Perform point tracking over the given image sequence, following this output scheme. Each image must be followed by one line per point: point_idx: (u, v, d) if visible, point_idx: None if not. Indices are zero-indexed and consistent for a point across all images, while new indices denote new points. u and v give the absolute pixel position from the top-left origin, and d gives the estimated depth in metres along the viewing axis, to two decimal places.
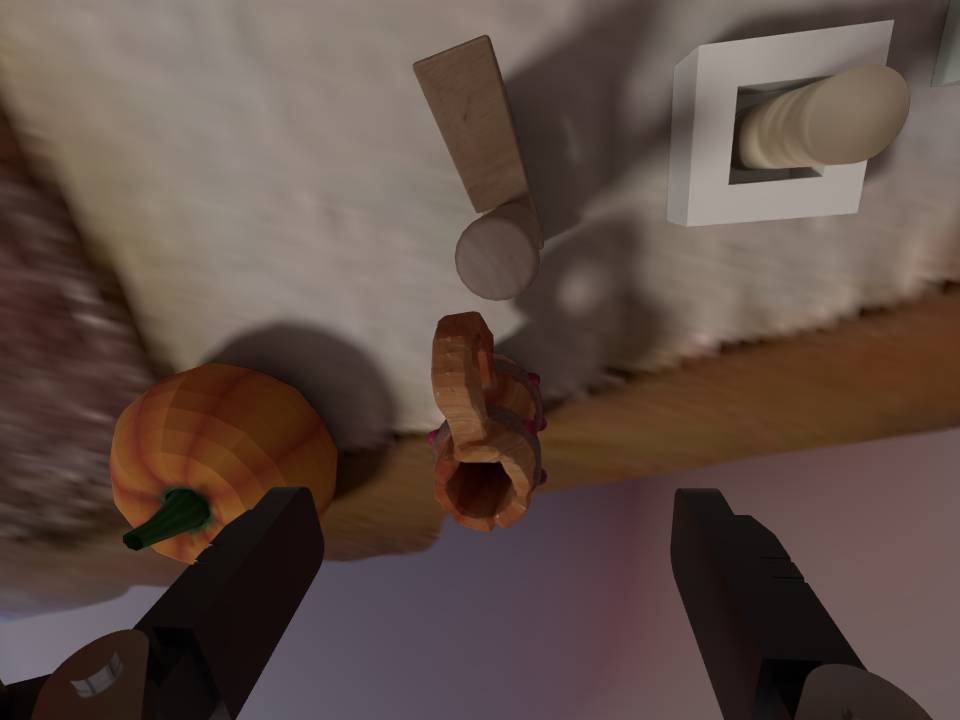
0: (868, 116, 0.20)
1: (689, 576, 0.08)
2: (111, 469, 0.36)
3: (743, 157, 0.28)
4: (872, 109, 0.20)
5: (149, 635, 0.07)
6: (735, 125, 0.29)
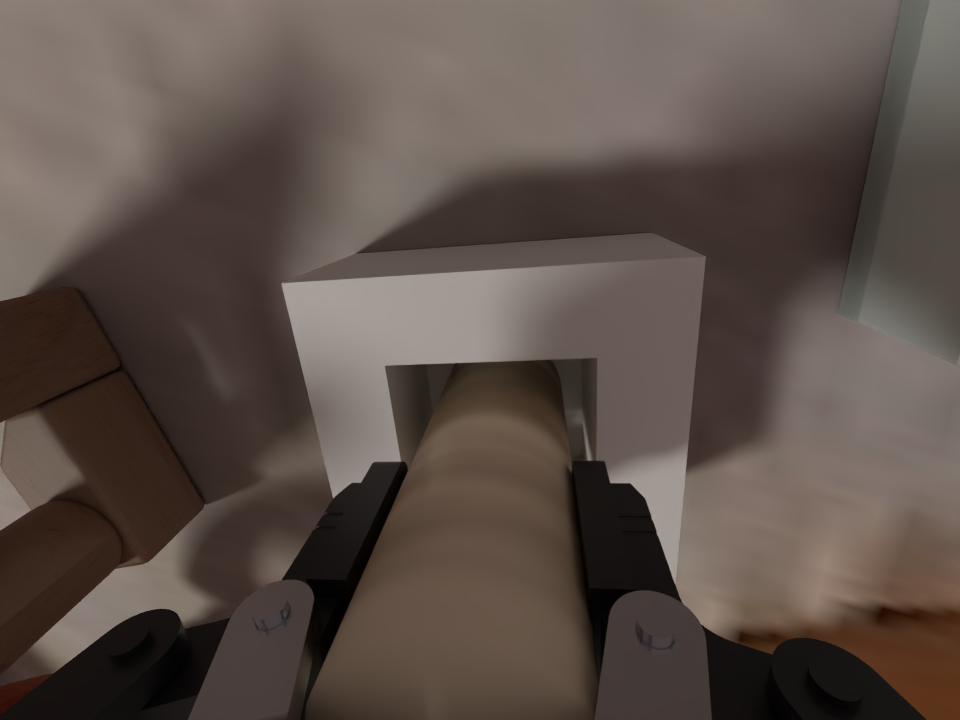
0: None
1: None
2: None
3: None
4: None
5: None
6: None
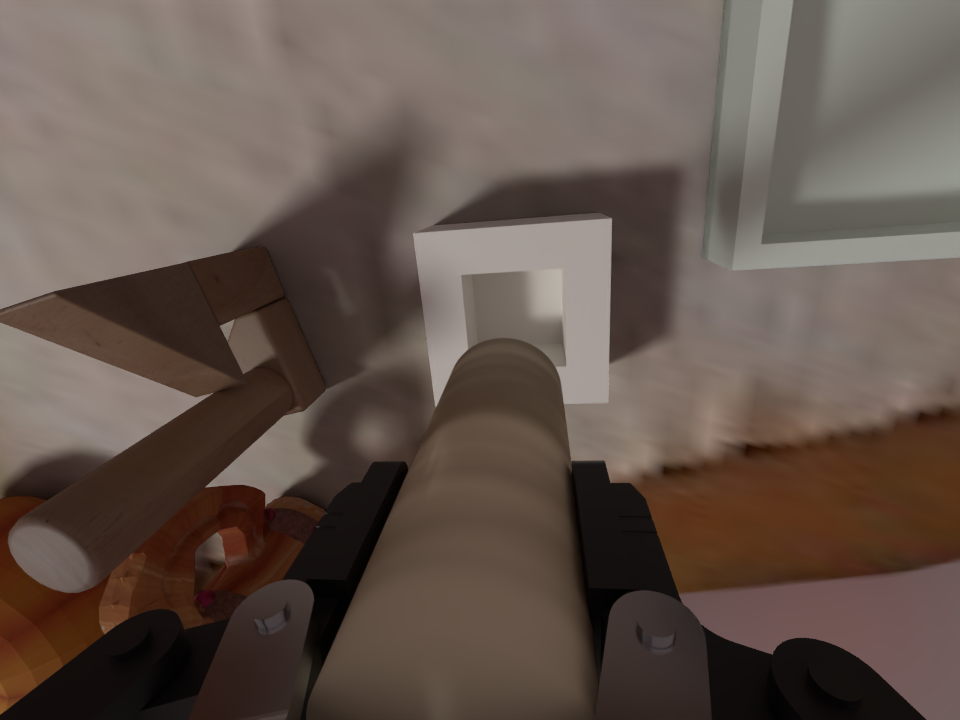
0: None
1: None
2: None
3: None
4: None
5: None
6: None
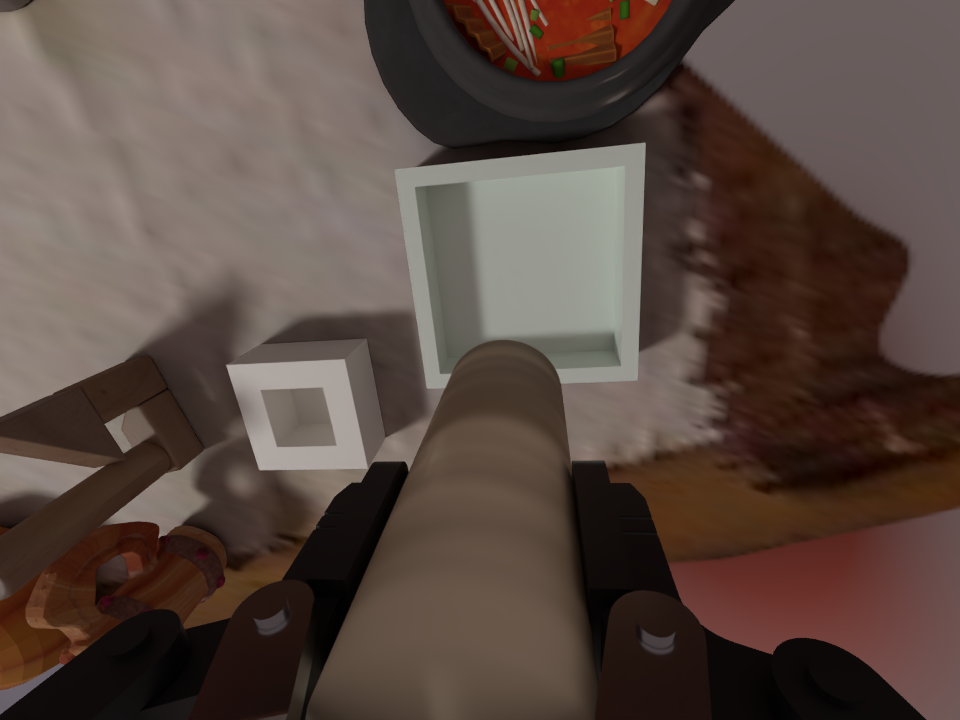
0: None
1: None
2: None
3: None
4: None
5: None
6: None
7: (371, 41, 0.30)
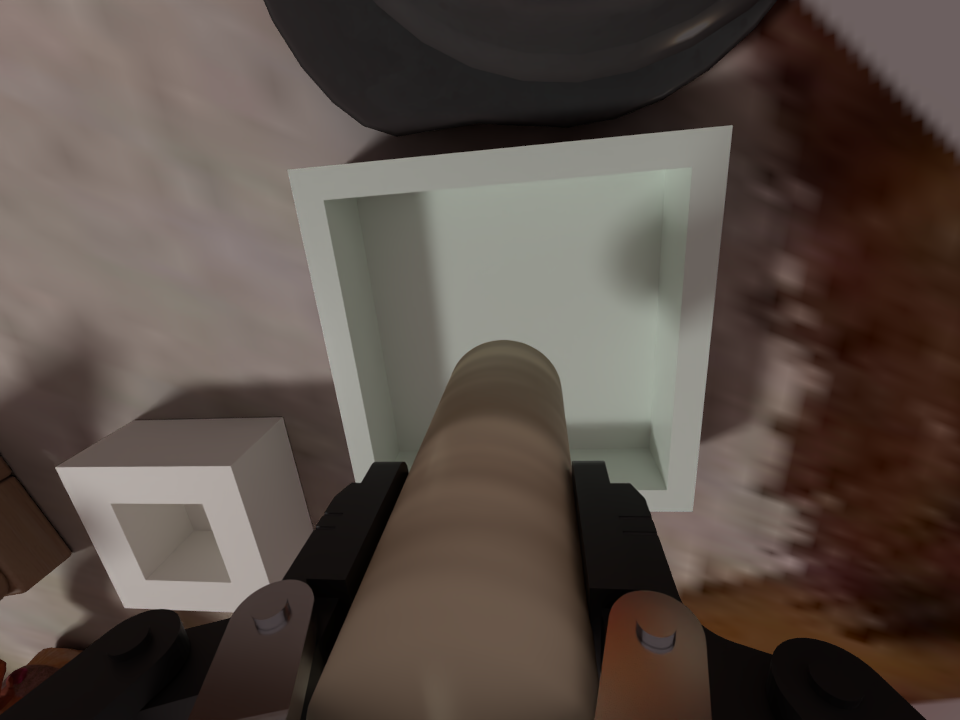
0: None
1: None
2: None
3: None
4: None
5: None
6: None
7: None
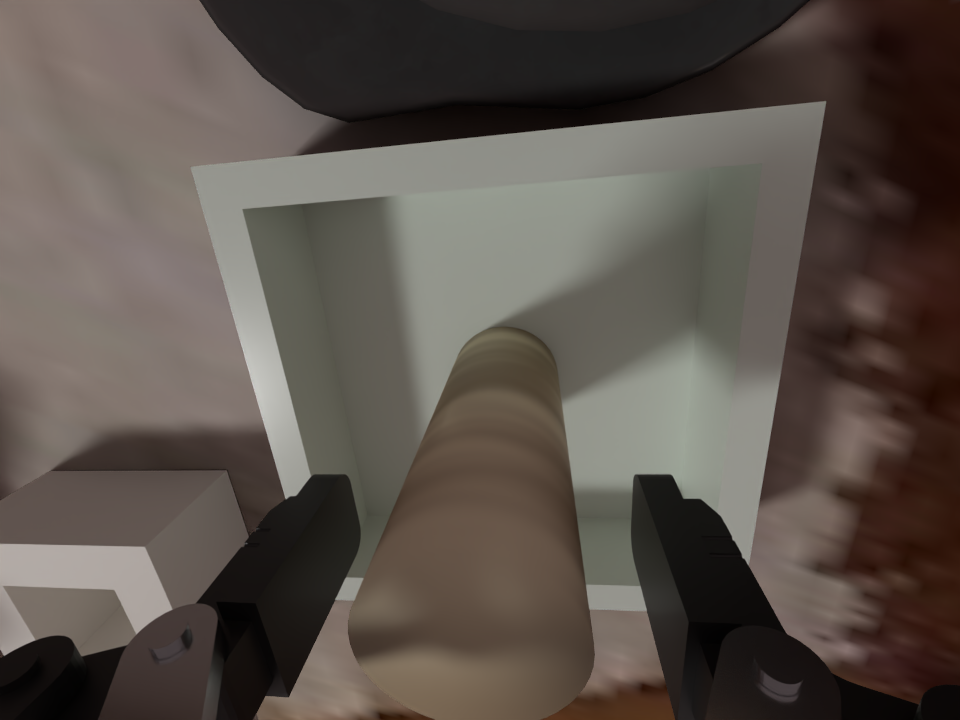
0: (491, 653, 0.07)
1: (642, 556, 0.09)
2: None
3: None
4: (497, 641, 0.07)
5: None
6: None
7: None
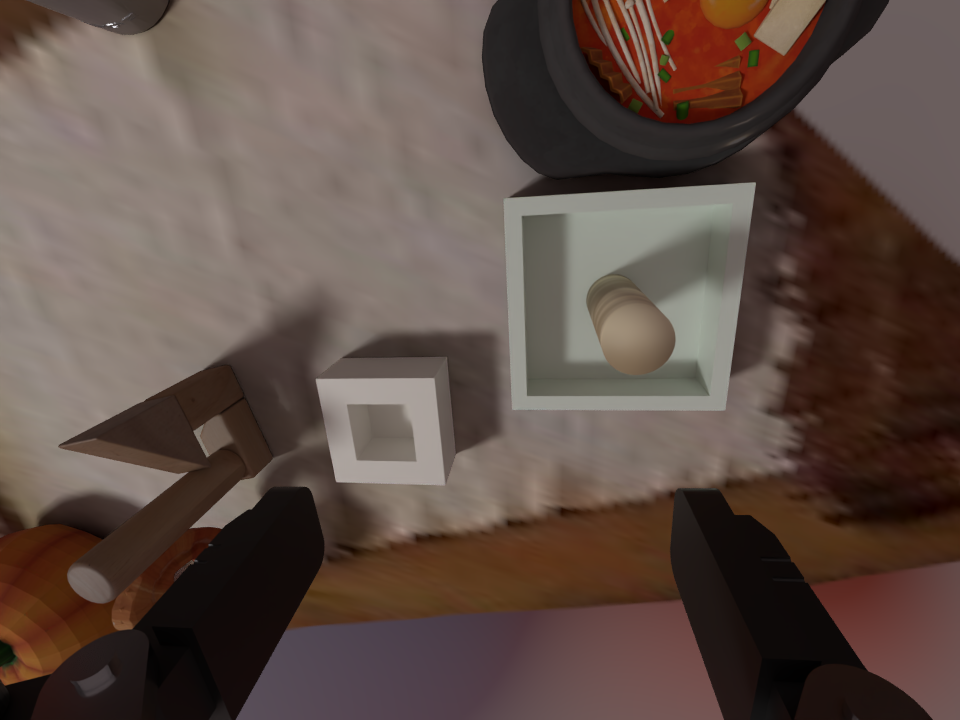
0: (645, 342, 0.26)
1: (689, 576, 0.08)
2: None
3: None
4: (647, 338, 0.25)
5: (149, 634, 0.07)
6: (590, 296, 0.34)
7: (487, 75, 0.31)
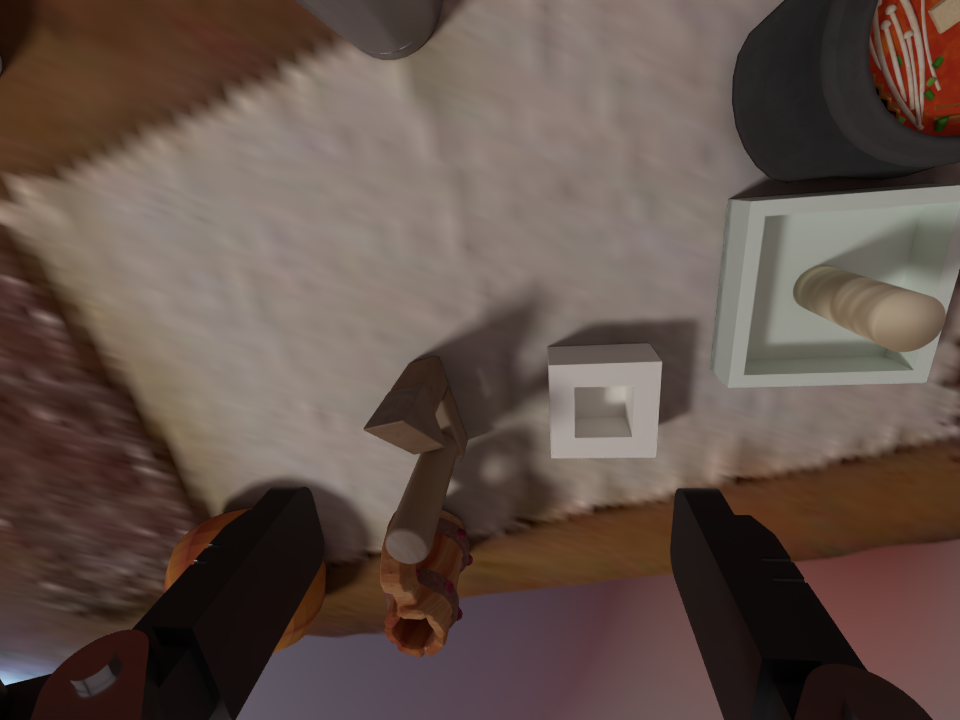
0: (917, 324, 0.30)
1: (689, 576, 0.08)
2: None
3: (815, 311, 0.38)
4: (920, 320, 0.30)
5: (149, 634, 0.07)
6: (808, 285, 0.39)
7: (736, 92, 0.35)
